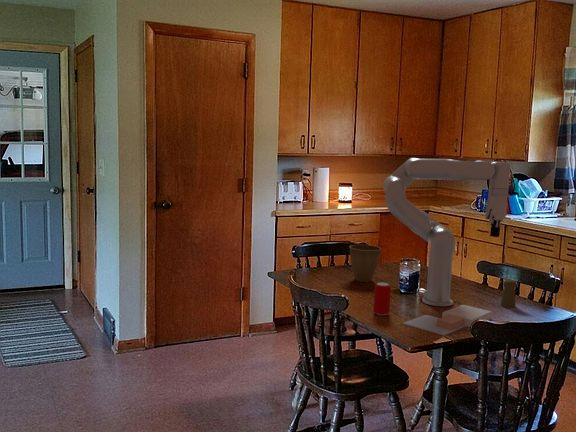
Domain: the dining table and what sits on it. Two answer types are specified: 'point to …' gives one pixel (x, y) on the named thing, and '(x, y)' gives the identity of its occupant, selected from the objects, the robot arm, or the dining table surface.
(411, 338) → the dining table surface
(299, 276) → the dining table surface
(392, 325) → the dining table surface
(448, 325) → the terracotta tile
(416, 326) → the mat
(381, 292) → the beverage can
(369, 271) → the plant pot
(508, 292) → the cork
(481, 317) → the grey flat block
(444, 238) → the robot arm
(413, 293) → the dining table surface
